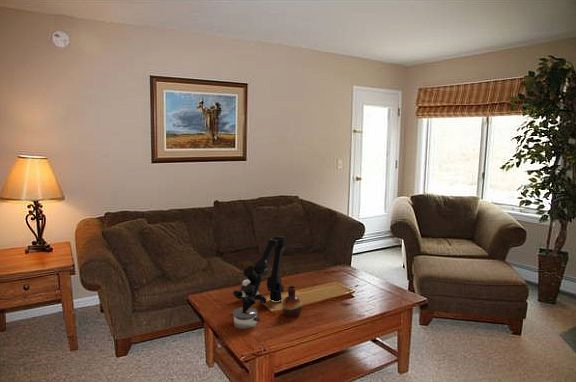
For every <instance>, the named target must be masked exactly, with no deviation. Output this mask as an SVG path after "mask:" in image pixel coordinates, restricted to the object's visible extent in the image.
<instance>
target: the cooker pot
mask: <svg viewBox="0 0 576 382" xmlns="http://www.w3.org/2000/svg"><path fill="white" fill-rule="evenodd" d="M230 316H233V311H232V312H231V313H230ZM260 320H261V317H258V314H257V315H256V316H255V317H252V318H248V319H240V318H236V317H234V316H233V324H234V327H235V328H237V329H242V330H245V329H250V328H251V329H252V328H253V327H256V325H257V323H258V322H260Z"/></svg>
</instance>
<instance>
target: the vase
mask: <svg viewBox="0 0 576 382" xmlns="http://www.w3.org/2000/svg"><path fill="white" fill-rule="evenodd" d="M287 293H288V295H287V296H285V298H284V299H283V300H282V302H281V304H282V305H281V307H282V311H283V314H284V315H285V316H286V317H290V318H296V317H298V316H300V315H301V313H302V310H303V302H302V300H301V299H300V297H298V296H296V286H293V285H291V286H288V287H287Z"/></svg>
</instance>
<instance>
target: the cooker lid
mask: <svg viewBox="0 0 576 382" xmlns="http://www.w3.org/2000/svg"><path fill="white" fill-rule="evenodd" d="M232 312H233V318H234V317H236V318H240V319H248V318H252V317H255V316H256V315H257V316H258V309H257V308H254V307H252V306H251V307H250V308H249V309H248V310H247V311H246V312H243V306H242V307H237V308H236V309H233V311H232Z"/></svg>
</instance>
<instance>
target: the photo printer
mask: <svg viewBox="0 0 576 382" xmlns="http://www.w3.org/2000/svg"><path fill="white" fill-rule="evenodd" d="M249 283H250V281H249V280H248V279H244V280H243V281H242V283H241V285H244V286H247V284H249ZM259 292H260V290H259V291H257V294H258V295H260V293H259ZM242 293H243V294H245V293H244V292H243V291H242ZM257 294H256V295H257ZM247 297H248V296H247ZM257 301H258V300H256V302H257Z"/></svg>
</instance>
